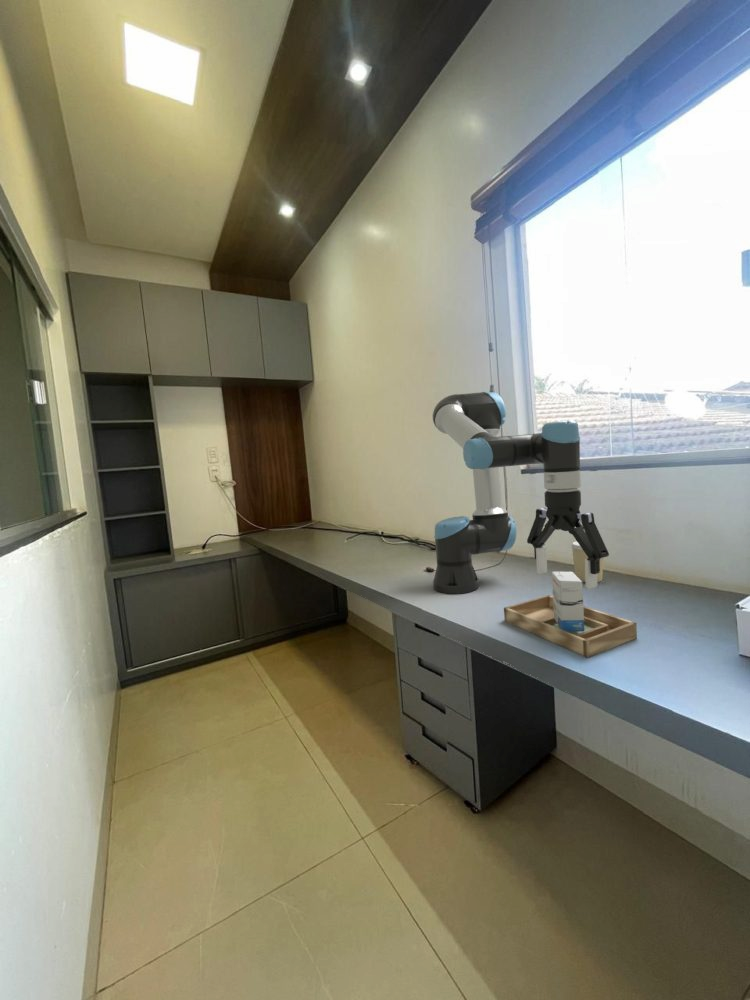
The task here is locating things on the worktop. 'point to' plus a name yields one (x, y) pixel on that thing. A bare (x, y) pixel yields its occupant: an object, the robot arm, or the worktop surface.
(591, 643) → the walled box
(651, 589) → the worktop surface
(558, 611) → the ink box
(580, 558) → the coffee cup
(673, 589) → the worktop surface
